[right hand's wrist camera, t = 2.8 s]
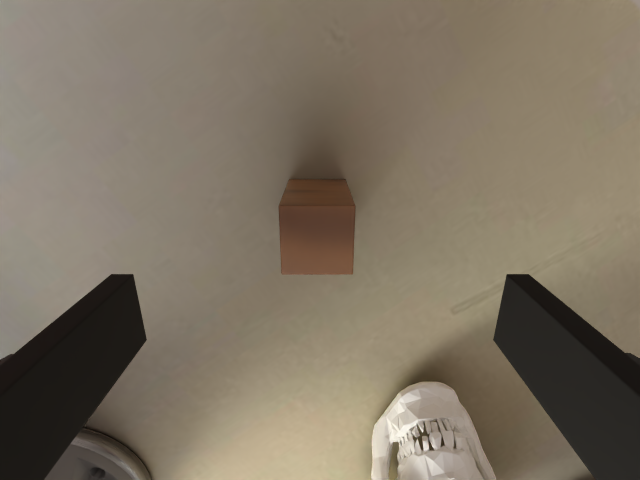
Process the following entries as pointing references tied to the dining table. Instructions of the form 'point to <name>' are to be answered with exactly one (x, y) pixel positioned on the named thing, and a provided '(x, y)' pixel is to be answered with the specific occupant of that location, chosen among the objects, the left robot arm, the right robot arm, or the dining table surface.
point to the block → (317, 227)
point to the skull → (429, 465)
